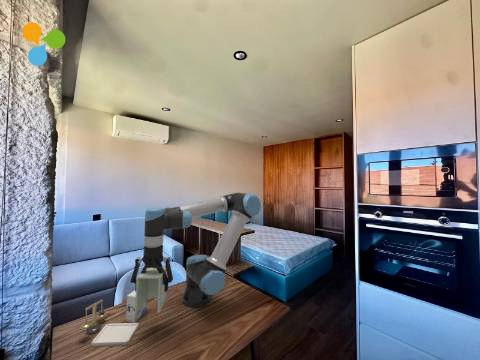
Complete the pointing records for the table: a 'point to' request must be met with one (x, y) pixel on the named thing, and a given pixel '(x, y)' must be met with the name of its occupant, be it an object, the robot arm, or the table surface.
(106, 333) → the dish
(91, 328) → the balance
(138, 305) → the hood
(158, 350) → the table surface
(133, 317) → the ink box
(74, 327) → the table surface
